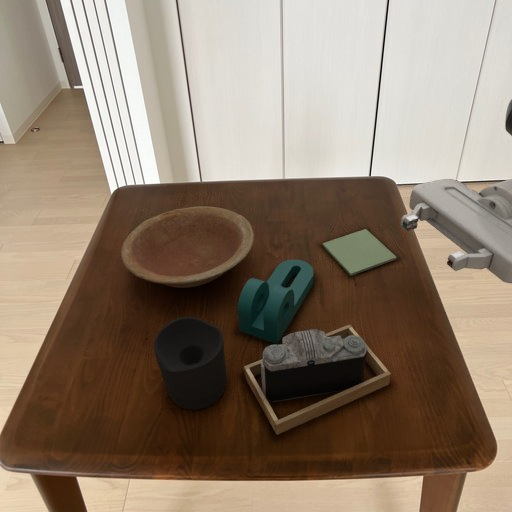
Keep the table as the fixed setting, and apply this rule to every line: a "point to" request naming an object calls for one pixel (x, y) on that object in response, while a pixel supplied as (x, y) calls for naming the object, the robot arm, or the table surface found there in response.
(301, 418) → the rectangular wooden frame
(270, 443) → the table surface
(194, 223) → the bowl
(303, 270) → the bracket
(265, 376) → the camera
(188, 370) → the pen holder
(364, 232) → the mat
